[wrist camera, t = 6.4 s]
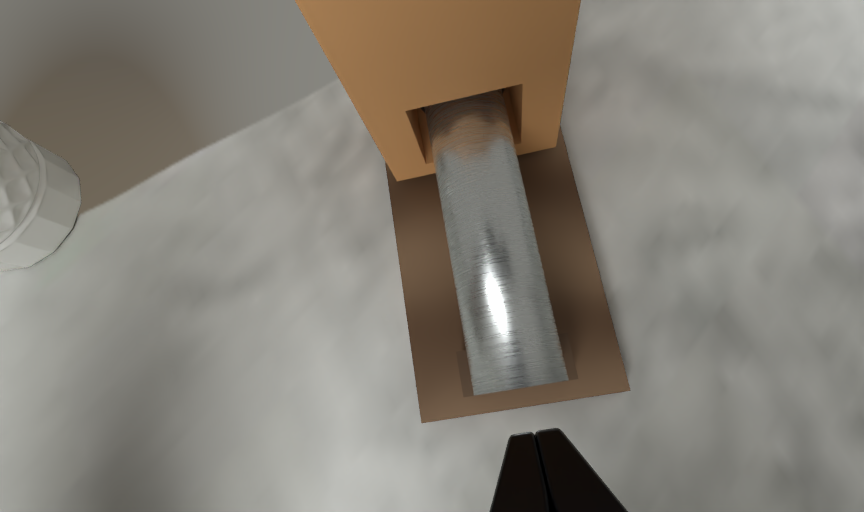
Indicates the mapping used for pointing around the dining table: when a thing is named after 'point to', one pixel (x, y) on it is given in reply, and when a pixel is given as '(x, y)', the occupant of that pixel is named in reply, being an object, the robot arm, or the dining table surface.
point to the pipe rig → (499, 271)
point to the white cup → (33, 200)
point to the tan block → (447, 65)
